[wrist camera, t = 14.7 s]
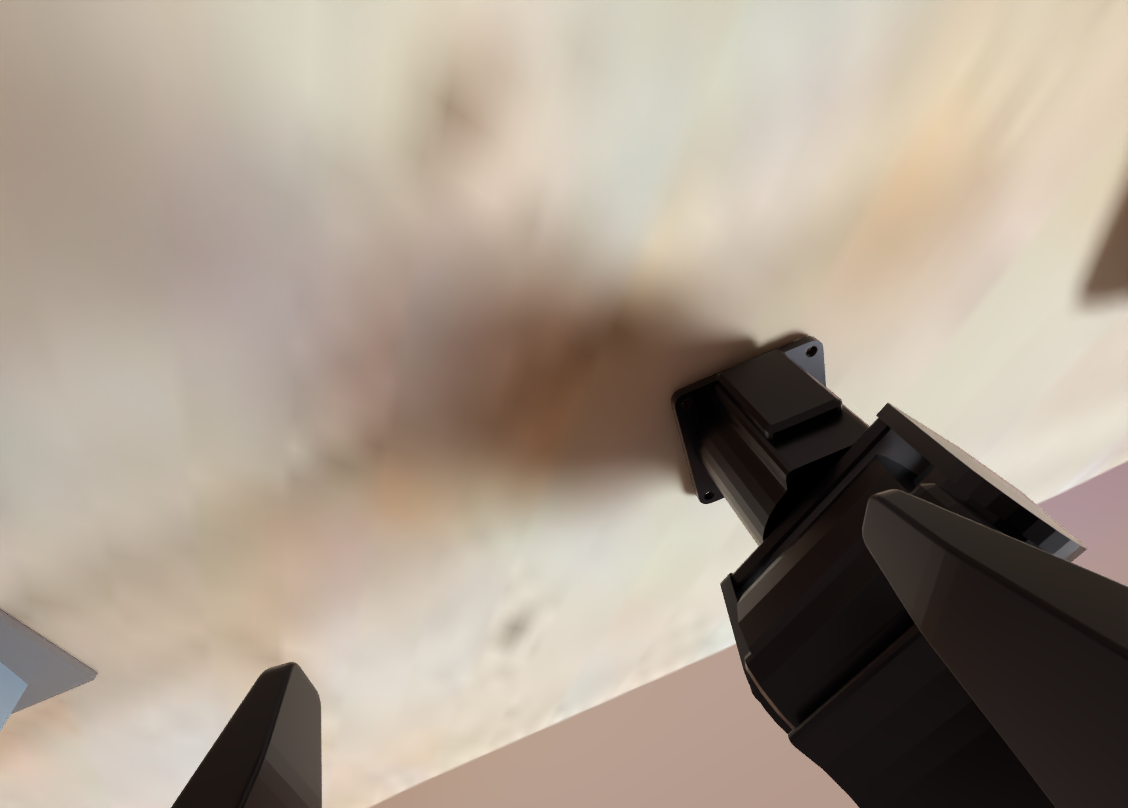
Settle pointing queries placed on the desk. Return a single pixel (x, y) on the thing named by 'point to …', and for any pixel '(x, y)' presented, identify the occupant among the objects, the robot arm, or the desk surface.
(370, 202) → the desk surface
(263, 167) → the desk surface
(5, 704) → the sleeve
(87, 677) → the mat
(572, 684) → the desk surface
